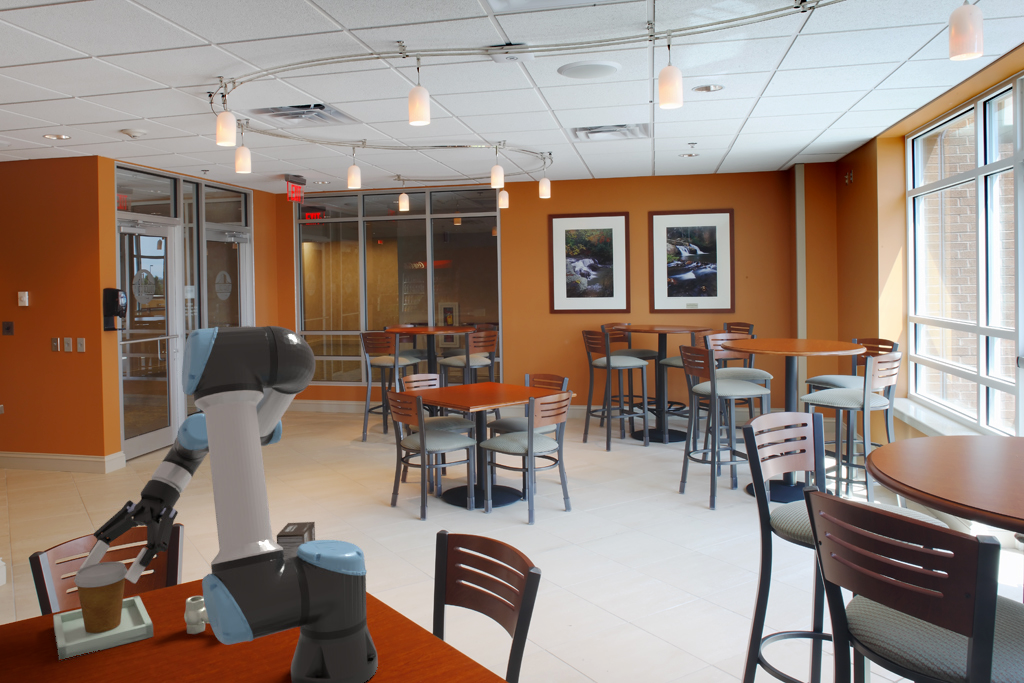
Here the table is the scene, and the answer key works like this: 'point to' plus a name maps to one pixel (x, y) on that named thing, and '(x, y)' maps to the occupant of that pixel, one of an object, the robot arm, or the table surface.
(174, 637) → the table surface
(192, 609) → the valve
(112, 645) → the tray
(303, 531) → the coffee box
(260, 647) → the table surface
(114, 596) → the disposable coffee cup
